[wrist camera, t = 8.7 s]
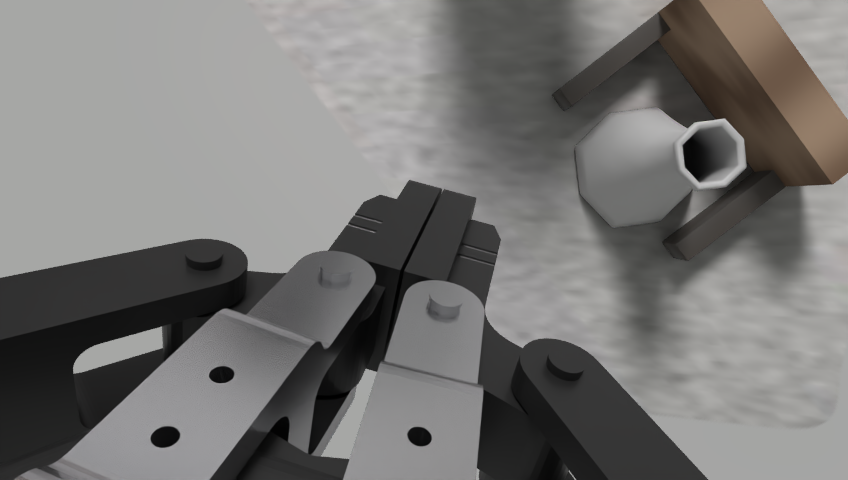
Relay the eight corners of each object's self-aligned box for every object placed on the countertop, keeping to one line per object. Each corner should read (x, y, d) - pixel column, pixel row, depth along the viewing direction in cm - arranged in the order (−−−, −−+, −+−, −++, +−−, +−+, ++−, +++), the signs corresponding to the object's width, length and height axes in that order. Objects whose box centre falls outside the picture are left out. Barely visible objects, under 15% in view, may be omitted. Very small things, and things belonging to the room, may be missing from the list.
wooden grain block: (551, 95, 37) (578, 73, 31) (678, -4, 37) (730, -44, 31) (673, 257, 38) (722, 268, 32) (798, 162, 37) (872, 154, 31)
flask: (604, 247, 37) (671, 263, 28) (553, 140, 37) (604, 116, 27) (711, 195, 37) (818, 192, 27) (661, 87, 37) (752, 44, 27)
